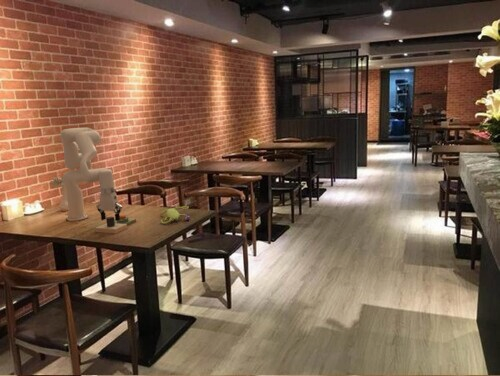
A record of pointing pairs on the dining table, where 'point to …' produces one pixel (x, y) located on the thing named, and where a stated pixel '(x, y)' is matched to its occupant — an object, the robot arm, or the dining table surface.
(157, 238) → the dining table surface
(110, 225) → the knob
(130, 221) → the housing
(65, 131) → the robot arm
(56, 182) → the flower vase
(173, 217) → the figurine
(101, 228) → the cream flat block
